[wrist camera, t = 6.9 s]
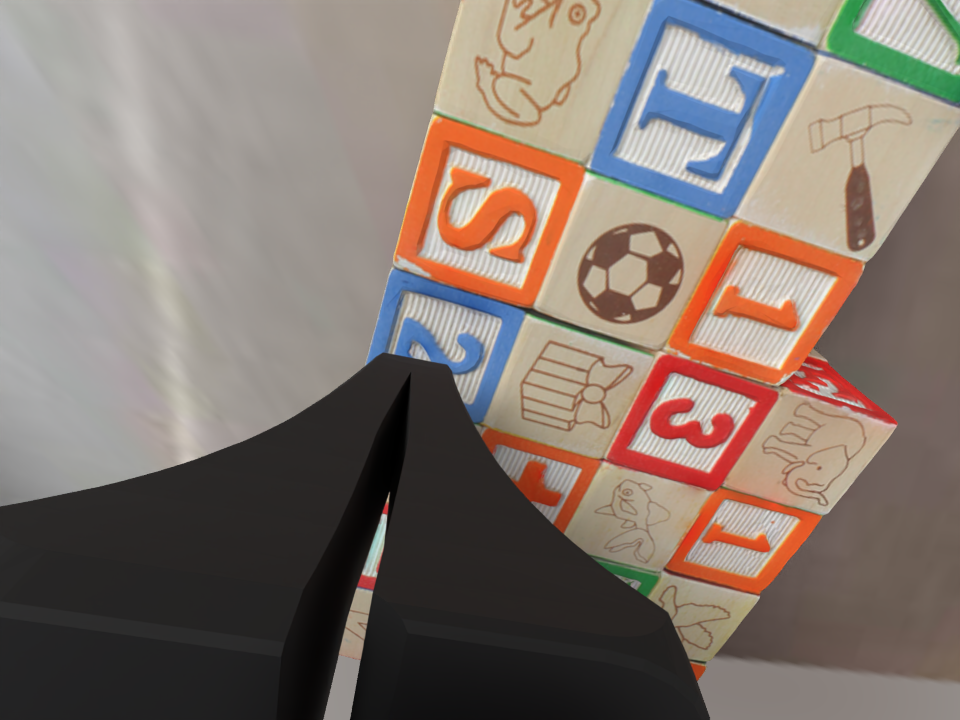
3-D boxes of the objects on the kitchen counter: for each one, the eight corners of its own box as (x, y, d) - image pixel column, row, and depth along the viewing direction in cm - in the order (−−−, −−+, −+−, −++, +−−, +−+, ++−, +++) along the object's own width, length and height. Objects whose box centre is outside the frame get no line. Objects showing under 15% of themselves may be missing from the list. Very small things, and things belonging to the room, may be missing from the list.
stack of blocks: (544, -379, 7) (1270, -37, 9) (518, -179, 13) (966, 9, 14) (289, 650, 16) (670, 729, 18) (339, 506, 22) (626, 575, 24)
